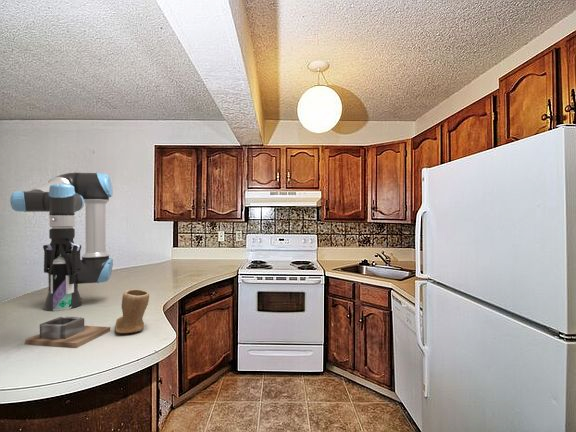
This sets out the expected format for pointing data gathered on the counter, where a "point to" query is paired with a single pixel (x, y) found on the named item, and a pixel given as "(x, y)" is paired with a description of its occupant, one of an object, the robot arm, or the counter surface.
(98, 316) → the counter surface
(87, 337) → the socket board
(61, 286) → the spray can
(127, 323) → the tan boot-shaped piece
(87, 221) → the robot arm
